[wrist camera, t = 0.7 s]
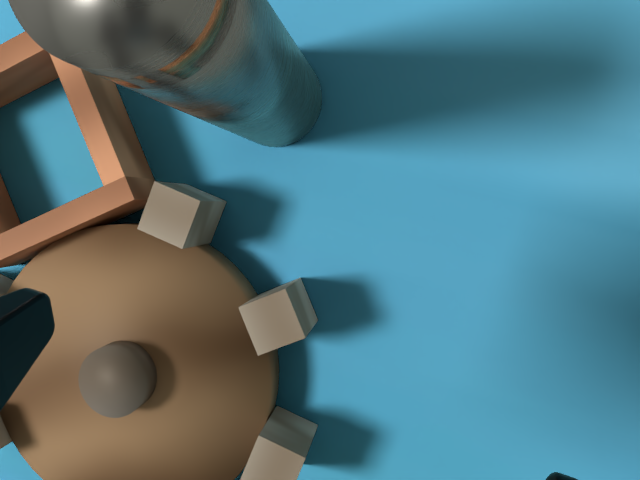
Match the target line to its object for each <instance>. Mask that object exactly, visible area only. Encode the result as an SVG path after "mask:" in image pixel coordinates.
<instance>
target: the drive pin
mask: <svg viewBox="0 0 640 480" xmlns="http://www.w3.org/2000/svg"><path fill="white" fill-rule="evenodd" d="M9 3H10V6H11V8H12V10H13V12H14V14H15V16H16V18H17V19H18V21H19V23H20V24H21V26H22V27H23V29H24V30H25V31H26V32H27V34H28V35H29V36H30V37H31V38H32V39H33V40H34V41H35V42H36V43H37V44H38V45H39V46H40V47H41V48H43V49H44V50H45V51H47V52H48V53H50V54H51V55H53V56H55V57H57V58H59V59H61V60H63V61H65V62H67V63H69V64H72V65H74V66H76V67H79V68H81V69H83V70H86V71H88V72H90V73H93V74H95V75H97V76H100V77H102V78H105V79H107V80H109V81H112V82H114V83H116V84H119V85H121V86H123V87H126V88H128V89H131V90H133V91H135V92H138V93H140V94H142V95H145V96H147V97H149V98H152V99H154V100H156V101H159V102H161V103H164V104H166V105H168V106H171V107H173V108H175V109H178V110H180V111H182V112H185V113H187V114H189V115H192V116H194V117H197V118H199V119H201V120H204V121H206V122H208V123H211V124H213V125H215V126H218V127H220V128H222V129H225V130H227V131H230V132H232V133H234V134H237V135H239V136H241V137H244V138H246V139H248V140H251V141H253V142H256V143H258V144H261V145H264V146H269V147H282V146H286V145H290V144H292V143H295V142H296V141H298V140H300V139H301V138H303V137H304V136H305V135H306V134H307V133H308V132H309V131H310V130H311V129H312V127H313V126H314V124H315V123H316V121H317V119H318V116H319V113H320V110H321V105H322V91H321V86H320V83H319V80H318V78H317V76H316V74H315V72H314V71H313V69H312V68H311V66H310V65H309V63H308V62H307V60H306V59H305V57H304V56H303V54H302V53H301V51H300V50H299V48H298V46H297V45H296V43H295V42H294V40H293V39H292V37H291V36H290V34H289V33H288V31H287V30H286V28H285V27H284V25H283V24H282V22H281V21H280V19H279V18H278V16H277V15H276V13H275V12H274V10H273V8H272V7H271V5H270V4H269V2H268V1H267V0H9Z"/></svg>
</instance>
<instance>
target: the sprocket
mask: <svg viewBox="0 0 640 480" xmlns="http://www.w3.org/2000/svg"><path fill="white" fill-rule="evenodd" d="M57 78H60V81H61V83H62V85H63V88H64V90H65V93H66V95H67V98H68V100H69V102H70V105H71V107H72V110H73V112H74V115H75V117H76V120H77V122H78V124H79V127H80V129H81V132H82V134H83V137H84V139H85V141H86V144H87V146H88V149H89V151H90V154H91V156H92V159H93V161H94V163H95V166H96V168H97V171H98V173H99V176H100V178H101V180H102V183H103V185H104V186H103V187H101V188H98V189H96V190H94V191H92V192H90V193H88V194H85V195H83V196H81V197H79V198H77V199H75V200H72V201H70V202H68V203H66V204H64V205H62V206H60V207H57V208H55V209H53V210H51V211H49V212H47V213H44V214H42V215H40V216H38V217H36V218H34V219H31V220H29V221H27V222H25V223H23V224H21V223H20V221H19V218H18V216H17V213H16V211H15V208H14V206H13V204H12V201H11V199H10V196H9V194H8V191H7V189H6V187H5V184H4V182H3V179H2V177H1V174H0V268H2V267H8V266H14V265H18V264H21V263H23V262H25V261H27V260H30V259H32V258H33V259H32V260H31V261H30V262H29V263H28V264H27V265H26V266H25V267H24V268H23V270H22V271H21V272H20V274H19V275H18V276H17V277H16V279H15V280H12V279H10V278H8V277H5V276H3V275H1V274H0V296H3V295H5V294H8V293H11V292H13V291H16V290H19V289H22V288H31V289H34V290H37V291H40V292H43V293H45V294H47V295H48V296H49V298H50V300H51V306H52V311H53V317H54V322H55V329H54V333H53V335H52V337H51V339H50V341H49V342H48V344H47V345H46V346H45V348H44V349H43V351H42V352H41V354H40V355H39V357H38V358H37V360H36V361H35V362H34V364H33V365H32V367H31V368H30V370H29V371H28V373H27V374H26V375H25V377H24V378H23V380H22V381H21V383H20V384H19V386H18V387H17V389H16V390H15V391H14V393H13V394H12V396H11V397H10V399H9V400H8V401H7V403H6V404H5V405H4V407H3V408H2V410H1V411H0V449H1V448H2V447H4V446H5V445H7V444H9V443H10V442H12V441H13V443H14V444H15V446H16V447H17V449H18V451H19V452H20V454H21V455H22V456H23V458H24V459H25V460H26V461H27V463H28V464H29V465H30V466H31V468H32V469H33V470H34V471H35V472H36V473H37V474H38V475H39V476H40V477H41V478H42V479H43V480H234V479H235V478H236V477H237V476H238V475H239V474H240V473H241V471H242V470H243V468H244V467H245V466H246V467H245V469H244V472H243V474H242V476H241V479H240V480H296V479H297V477H298V475H299V472H300V470H301V468H302V465H303V463H304V461H305V459H306V456H307V453H308V451H309V448H310V445H311V443H312V440H313V437H314V435H315V432H316V429H317V427H318V425H317V424H315V423H313V422H311V421H309V420H306V419H304V418H302V417H300V416H298V415H296V414H294V413H292V412H290V411H288V410H285V409H283V408H281V407H279V406H276V408H275V404H276V398H277V393H278V385H279V360H278V350H277V349H278V348H280V347H283V346H286V345H288V344H291V343H294V342H296V341H299V340H302V339H304V338H306V337H307V335H308V334H309V332H310V331H311V330H312V328H313V327H314V325H315V324H316V323H317V321H318V319H317V316H316V314H315V312H314V309H313V307H312V304H311V302H310V299H309V297H308V294H307V292H306V289H305V287H304V285H303V282H302V280H301V278H298V279H296V280H293V281H291V282H288V283H286V284H283V285H281V286H278V287H276V288H273V289H271V290H268V291H266V292H263V293H261V294H259V295H258V294H257V293H256V291H255V290H254V288H253V287H252V285H251V284H250V282H249V281H248V280H247V278H246V277H245V276H244V275H243V274H242V273H241V271H240V270H239V269H238V268H237V267H236V266H235V265H234V264H233V263H232V262H231V261H230V260H229V259H228V258H226V257H225V256H224V255H223V254H222V253H221V252H219V251H218V250H216V249H215V248H213V247H212V246H211V245H209V243H211V241H212V238H213V236H214V233H215V230H216V228H217V225H218V223H219V220H220V217H221V215H222V212H223V209H224V207H225V204H226V202H227V201H225V200H222V199H220V198H218V197H215V196H213V195H211V194H208V193H206V192H204V191H201V190H199V189H197V188H194V187H192V186H190V185H187V184H180V183H169V182H159V181H155V180H154V177H153V175H152V172H151V170H150V167H149V165H148V162H147V160H146V158H145V155H144V153H143V150H142V148H141V145H140V143H139V141H138V138H137V136H136V133H135V131H134V128H133V126H132V123H131V121H130V119H129V116H128V114H127V111H126V109H125V106H124V104H123V101H122V99H121V97H120V94H119V92H118V89H117V87H116V84H115V83H114V82H112V81H109V80H107V79H105V78H102V77H100V76H97V75H95V74H93V73H90V72H88V71H86V70H83V69H81V68H79V67H76V66H74V65H72V64H69V63H67V62H65V61H63V60H61V59H59V58H57V57H55V56H53V55H51V54H50V53H48V52H47V51H45V50H44V49H43V48H41V47H40V46H39V45H38V44H37V43H36V42H35V41H34V40H33V39H32V38H31V37H30V36H29V35H28V34H27V32H26V31H25V32H23V33H21V34H19V35H18V36H16V37H14V38H12V39H10V40H8V41H6V42H5V43H3V44H1V45H0V108H1V107H3V106H5V105H6V104H8V103H10V102H12V101H14V100H16V99H18V98H20V97H22V96H24V95H26V94H28V93H30V92H32V91H34V90H36V89H38V88H40V87H41V86H43V85H45V84H47V83H49V82H51V81H53V80H55V79H57ZM141 209H144V211H143V214H142V217H141V219H140V222H139V223H130V224H115V225H108V224H110V223H112V222H115V221H117V220H119V219H121V218H124V217H126V216H128V215H130V214H133V213H135V212H137V211H139V210H141ZM274 408H275V410H274Z"/></svg>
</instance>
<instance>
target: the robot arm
mask: <svg viewBox="0 0 640 480" xmlns="http://www.w3.org/2000/svg"><path fill="white" fill-rule="evenodd" d="M54 329H55V322H54V317H53V311H52V306H51V300H50V298H49V296H48V295H47V294H45V293H43V292H40V291H37V290H34V289H31V288H22V289H19V290H16V291H13V292H11V293H8V294H5V295H3V296H0V411H1V410H2V408H3V407H4V405H5V404H6V403H7V401H8V400H9V399H10V397H11V396H12V394H13V393H14V391H15V390H16V389H17V387H18V386H19V384H20V383H21V381H22V380H23V378H24V377H25V375H26V374H27V373H28V371H29V370H30V368H31V367H32V365H33V364H34V362H35V361H36V360H37V358H38V357H39V355H40V354H41V352H42V351H43V349H44V348H45V346H46V345H47V344H48V342H49V341H50V339H51V337H52V335H53V333H54ZM546 480H577V479H575V478H573V477H570V476H567V475H564V474H561V473H558V472H554V473H551V474H550V475H549V476H548V477H547V479H546Z"/></svg>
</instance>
